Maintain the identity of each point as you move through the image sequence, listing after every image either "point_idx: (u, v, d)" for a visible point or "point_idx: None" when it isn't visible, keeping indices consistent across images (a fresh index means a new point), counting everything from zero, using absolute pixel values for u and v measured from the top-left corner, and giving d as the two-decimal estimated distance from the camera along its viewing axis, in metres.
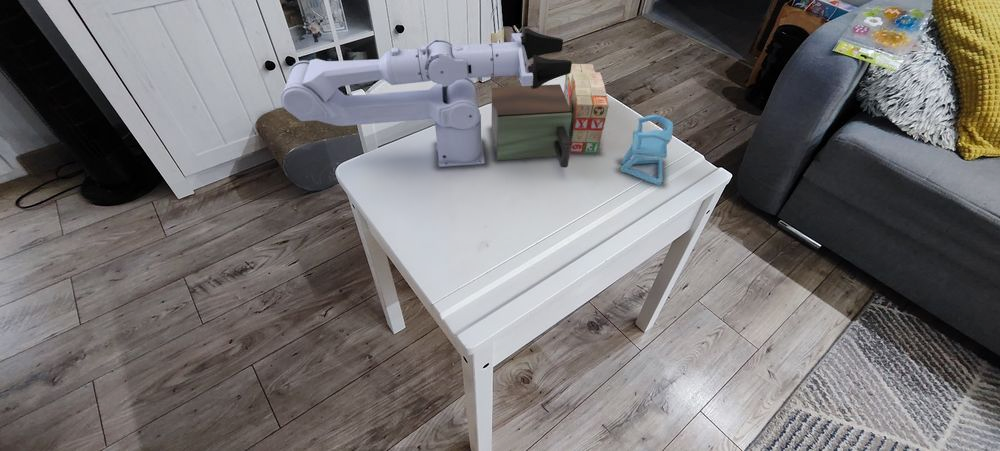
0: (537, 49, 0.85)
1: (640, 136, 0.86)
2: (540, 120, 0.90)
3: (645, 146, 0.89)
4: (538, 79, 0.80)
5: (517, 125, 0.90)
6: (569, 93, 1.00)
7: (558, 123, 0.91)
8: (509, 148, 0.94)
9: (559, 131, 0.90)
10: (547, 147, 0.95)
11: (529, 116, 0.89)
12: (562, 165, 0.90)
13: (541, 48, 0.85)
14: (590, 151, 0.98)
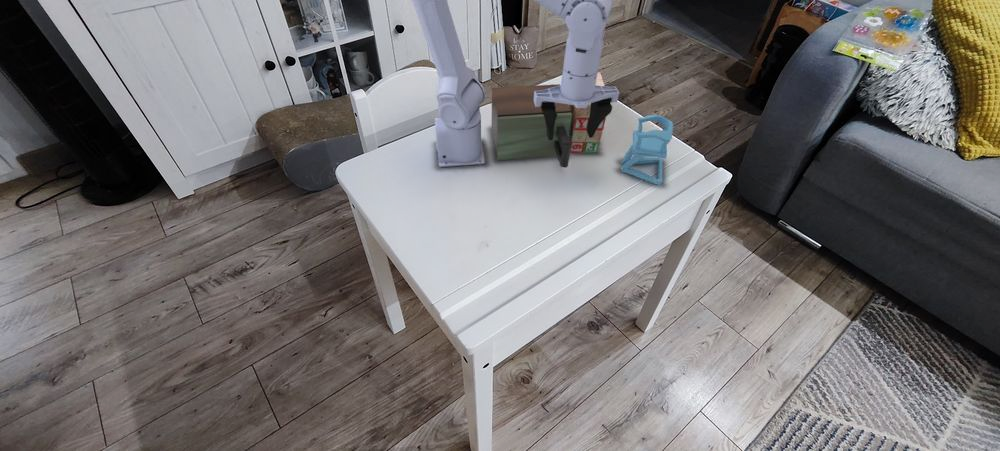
0: (592, 111, 0.82)
1: (640, 136, 0.86)
2: (540, 120, 0.90)
3: (645, 146, 0.89)
4: None
5: (517, 125, 0.90)
6: None
7: (558, 123, 0.91)
8: (509, 148, 0.94)
9: (559, 131, 0.90)
10: (547, 147, 0.95)
11: (529, 116, 0.89)
12: (562, 165, 0.90)
13: (592, 115, 0.83)
14: (590, 151, 0.98)
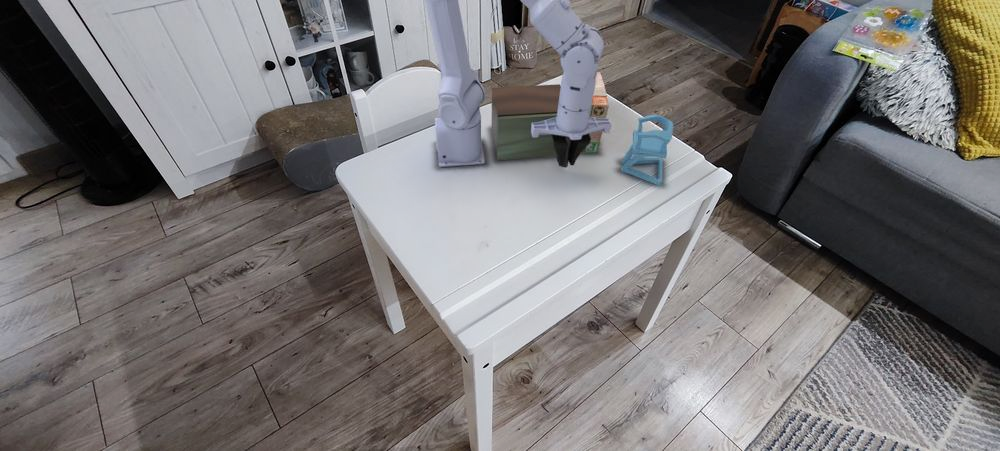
0: (572, 141, 0.87)
1: (640, 136, 0.86)
2: (540, 120, 0.90)
3: (645, 146, 0.89)
4: None
5: (517, 125, 0.90)
6: None
7: None
8: (509, 148, 0.94)
9: None
10: (547, 147, 0.95)
11: (529, 116, 0.89)
12: None
13: (572, 144, 0.87)
14: (590, 151, 0.98)
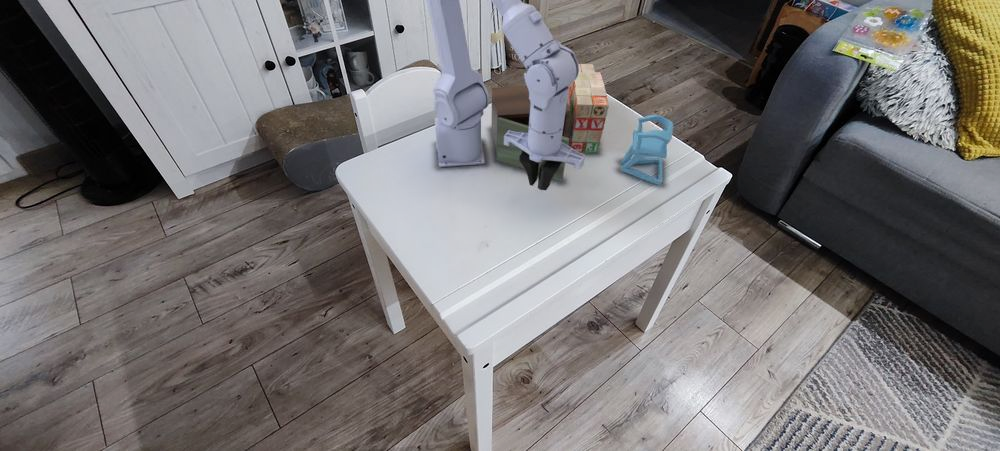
0: None
1: (640, 136, 0.86)
2: None
3: (645, 146, 0.89)
4: None
5: None
6: (569, 93, 1.00)
7: None
8: (507, 152, 0.93)
9: None
10: None
11: (526, 127, 0.86)
12: (538, 187, 0.86)
13: None
14: (590, 151, 0.98)
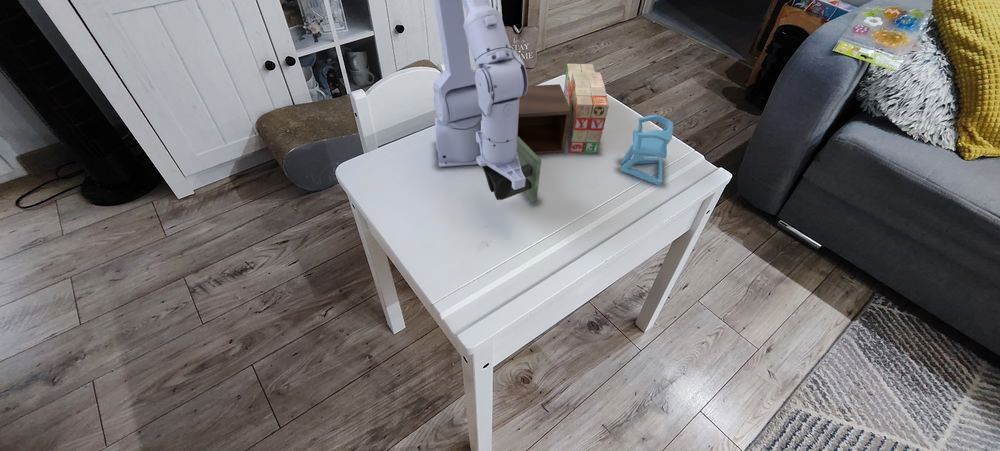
0: None
1: (640, 136, 0.86)
2: (518, 146, 0.84)
3: (645, 146, 0.89)
4: None
5: None
6: (569, 93, 1.00)
7: (529, 161, 0.83)
8: None
9: (521, 167, 0.83)
10: None
11: None
12: None
13: None
14: (590, 151, 0.98)
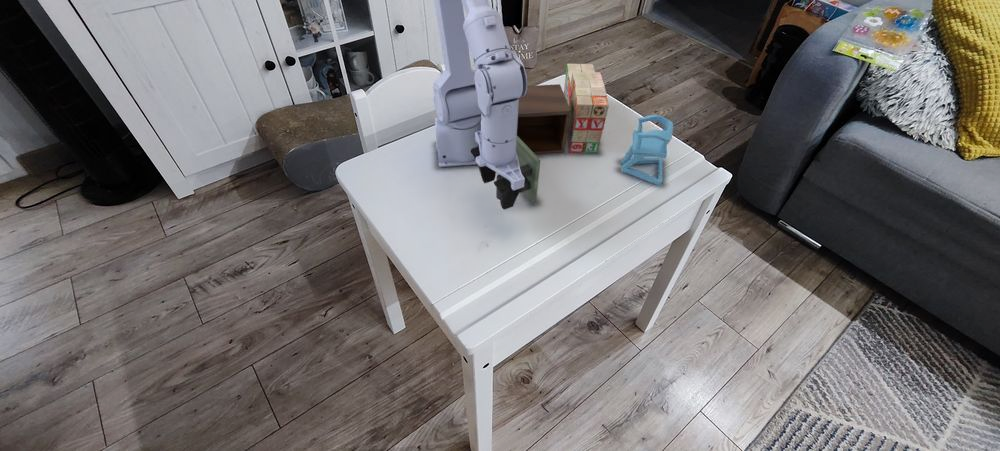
0: None
1: (640, 136, 0.86)
2: (518, 146, 0.84)
3: (645, 146, 0.89)
4: None
5: None
6: (569, 93, 1.00)
7: (528, 161, 0.83)
8: None
9: (520, 167, 0.83)
10: None
11: None
12: (496, 195, 0.84)
13: None
14: (590, 151, 0.98)
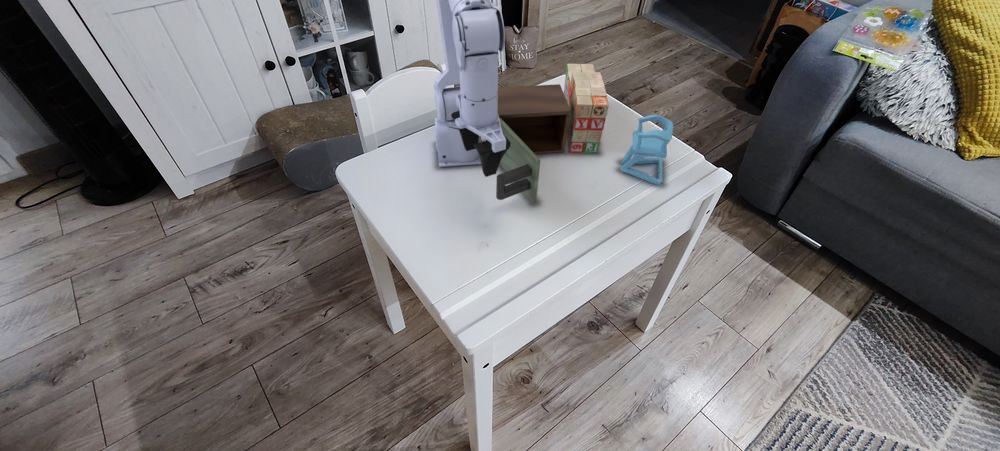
0: None
1: (640, 136, 0.86)
2: (518, 146, 0.84)
3: (645, 146, 0.89)
4: None
5: (505, 136, 0.87)
6: (569, 93, 1.00)
7: (528, 161, 0.83)
8: None
9: (520, 167, 0.83)
10: (522, 180, 0.88)
11: (513, 135, 0.85)
12: (496, 195, 0.84)
13: None
14: (590, 151, 0.98)
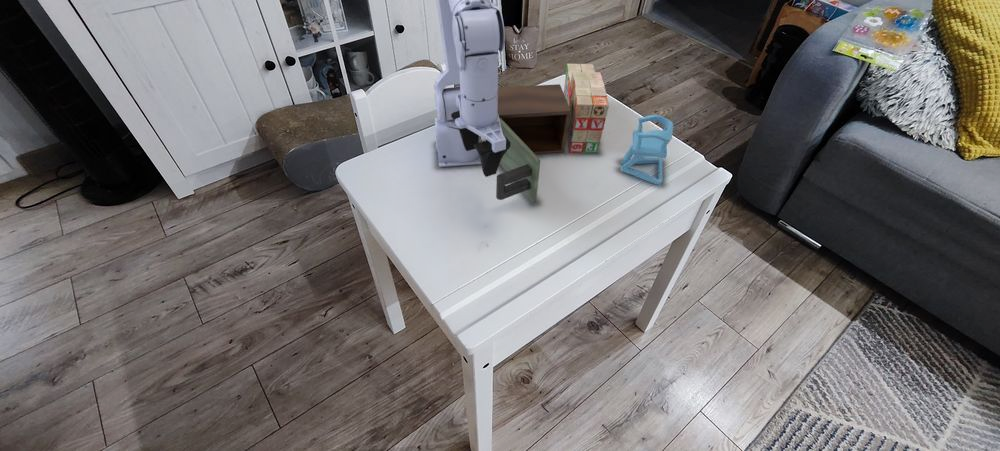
0: None
1: (640, 136, 0.86)
2: (518, 146, 0.84)
3: (645, 146, 0.89)
4: None
5: (505, 136, 0.87)
6: (569, 93, 1.00)
7: (528, 161, 0.83)
8: None
9: (520, 167, 0.83)
10: (522, 180, 0.88)
11: (513, 135, 0.85)
12: (496, 195, 0.84)
13: None
14: (590, 151, 0.98)
